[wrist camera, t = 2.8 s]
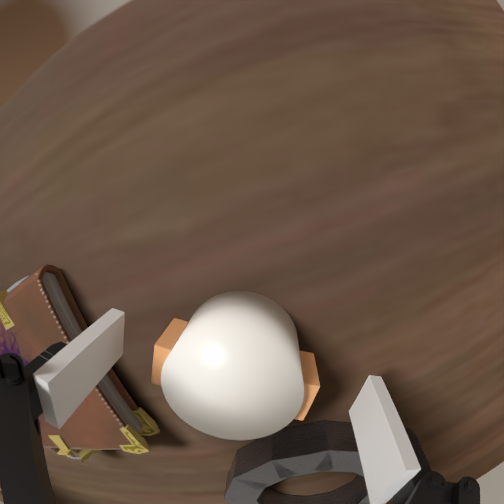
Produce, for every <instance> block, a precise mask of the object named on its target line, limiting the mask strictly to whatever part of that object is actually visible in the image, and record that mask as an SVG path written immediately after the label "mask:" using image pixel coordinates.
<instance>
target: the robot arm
mask: <svg viewBox="0 0 504 504" xmlns="http://www.w3.org/2000/svg"><path fill="white" fill-rule="evenodd" d="M124 319H125V312H122V311H119V310H117V309H114V308H112V309H111V310H109V311H108V312H107V313H106V314H104V315H103V316H102V317H101V318H99V319H98V320H97V321H96V322H94V323H93V324H92V325H91V326H90V327H88V328H87V329H86V330H85V331H83V332H82V333H81V334H80V335H79V336H77V337H76V338H75V339H74V340H72V341H71V342H70V343H69V344H68V345H67V344H65V343H63V342H58V343H55V344H52V345H51V346H50V347H48V348H47V349H46V350H45V351H43V352H42V353H41V354H40V355H38V356H37V357H36V358H35V359H33V360H32V361H31V362H30V363H28V364H27V365H26V366H25V367H24V363H23V360H22V358H21V357H20V356H18V355H17V354H13V353H4V354H2V355H0V481H1V488H2V494H3V500H4V504H56V502H55V498H54V495H53V491H52V487H51V483H50V479H49V474H48V470H47V465H46V460H45V454H44V449H43V443H42V436H41V428H40V421H39V418H38V417H39V416H40V415H41V414H42V413H43V414H44V417H45V421H46V422H48V423H50V424H51V425H53V426H54V427H56V428H58V429H60V428H61V427H62V426H63V425H64V423H65V422H66V421H67V420H68V418H69V417H70V416H71V415H72V414H73V412H74V411H75V410H76V409H77V408H78V406H79V405H80V404H81V403H82V402H83V400H84V399H85V398H86V397H87V396H88V394H89V393H90V392H91V391H92V390H93V389H94V387H95V386H96V385H97V384H98V383H99V382H100V380H101V379H102V378H103V377H104V376H105V375H106V373H107V372H108V371H109V370H110V369H111V368H112V366H113V365H114V364H115V363H116V362H117V361H118V359H119V358H120V357H121V356H122V355H123V338H124ZM349 415H350V418H351V422H352V426H353V430H354V434H355V439H356V443H357V447H358V451H359V455H360V460H361V464H362V468H363V473H364V477H365V482H366V487H367V491H368V496H369V501H370V504H386V503H387V502H388V501H389V500H390V499H391V498H392V497H393V500H394V504H480V487H479V484H478V483H477V481H476V480H475V479H474V478H472V477H463V478H462V479H461V480H460V481H459V482H458V483H452V482H446V481H445V479H444V477H443V476H442V475H441V474H439V473H437V472H434V471H431V469H430V466H429V464H428V461H427V459H426V457H425V454H424V452H423V451H422V448H421V445H420V444H419V441H418V439H417V436H416V435H415V434H414V433H413V431H412V430H411V429H410V428H404V426H403V424H402V421H401V419H400V417H399V415H398V412H397V410H396V408H395V406H394V403H393V401H392V399H391V397H390V394H389V392H388V390H387V388H386V386H385V384H384V382H383V379H382V377H380V376H373V375H369V376H368V378H367V380H366V382H365V384H364V386H363V387H362V389H361V391H360V393H359V395H358V397H357V398H356V400H355V402H354V404H353V405H352V407H351V409H350V410H349Z"/></svg>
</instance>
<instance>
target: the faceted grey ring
mask: <svg viewBox="0 0 504 504" xmlns="http://www.w3.org/2000/svg"><path fill="white" fill-rule="evenodd" d="M321 471H332V472H355V473H357V474H358V476H357V477H356V478H355V479H354V480H353V481H352V482H350V483H348V484H346V485H344V486H342V487H340V488H338V489H336V490H334V491H332V492H328V493H323V494H317V495H312V496H296V495H285V494H281V493H279V492H277V491H275V490H272V489H270V488H268V486H270V485H273V484H275V483H277V482H280V481H282V480H284V479H286V478H288V477H293V476H299V475H305V474H311V473H316V472H321ZM224 499H225V500H226V501H227V502H228V504H370V501H369V496H368V491H367V487H366V482H365V477H364V473H363V468H362V464H361V460H360V455H359V451H358V447H357V443H356V439H355V434H354V430H353V426H352V423H345V422H335V421H326V420H323V421H319V422H314V423H309V424H305V425H300V426H294V427H289V428H283V429H281V430H279V431H277V432H276V433H273V434H271V435H268V436H265V437H262V438H259V439H257V440H255V441H253V442H251V443H250V444H248V445H246V446H244V447H242V448H240V449H239V450H237V453H236V456H235V458H234V460H233V463H232V465H231V468H230V470H229V472H228V478H227V484H226V489H225V495H224Z"/></svg>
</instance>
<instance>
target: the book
mask: <svg viewBox="0 0 504 504" xmlns="http://www.w3.org/2000/svg"><path fill="white" fill-rule="evenodd" d="M27 277H28V276H27ZM27 277H25V278H23V279H21V280H20V281H18V282H16V283H15V284H14V285H13V286H11V287H10V288H9V289H7V290H4V291H1V292H0V355H2V354H4V353H13V354H17V355H18V356H20V357H21V358H22V360H23V363H24V367H25V366H26V365H27V364H28V363H30V362H31V361H32V360H33V359H35V358H36V357H37V356H38V355H40V354H41V353H42V352H43V351H45V350H46V349H47V348H48V347H50V346H51V345H52V344H55V343H58V342H63V343H65V344H67V345H68V344H69V343H70V342H71V341H72V340H74V339H75V338H76V337H77V336H79V335H80V334H81V333H82V332H83V331H85V330H86V329H87V328H88V326H87V324H86V322H85V320H84V318H83V316H82V314H81V312H80V310H79V308H78V306H77V304H76V302H75V300H74V298H73V296H72V294H71V292H70V290H69V287H68V285H67V283H66V281H65V278H64V276H63V274H62V272H61V270H60V269H59V268H57V267H55V266H52V265H48V264H47V265H45V266H43V267H41V268H40V269H39V270H37V271H36V272H35V273H33V274H32V275H31V276H29V277H28V278H27ZM26 278H27V279H26ZM38 418H39V421H40V428H41V436H42V443H43V447H48V448H60V450H59V451H58V452H57V454H58V455H67V456H68V457H71V458H72V459H80V460H82V462H84V461H85V460H86V459H87V458H89V457H90V456H91V455H92V454H94V453H96V452H98V451H100V450H116V449H122V450H123V451H126V452H131V453H137V454H140V453H144V452H148V451H150V448H149V446H148V444H147V443H146V441H145V439H144V438H143V437H142V436H141V435H145V436H151V435H154V434H157V433H160V430H159V428H158V426H157V424H156V422H155V421H154V420H153V419H152V418H151V417H150V416H149V415H148V414H147V413H146V412H145V411H144V410H143V409H142V408H141V407H137V405H136V404H135V402H134V401H133V400H132V398H131V397H130V395H129V394H128V392H127V391H126V389H125V388H124V386H123V385H122V383H121V382H120V380H119V379H118V377H117V376H116V374H115V372H114V371H113V369H112V368H111V369H110V370H109V371H108V372H107V373H106V375H105V376H104V377H103V378H102V379H101V380H100V382H99V383H98V384H97V385H96V386H95V387H94V389H93V390H92V391H91V392H90V393H89V394H88V396H87V397H86V398H85V399H84V400H83V402H82V403H81V404H80V405H79V406H78V408H77V409H76V410H75V411H74V412H73V414H72V415H71V416H70V417H69V418H68V420H67V421H66V422H65V423H64V425H63V426H62V427H61V428H60V429H58V428H56V427H54V426H53V425H51V424H50V423H48V422H46V421H45V417H44V414H43V413H42V414H41V415H40V416H39V417H38ZM72 451H74V452H76V453H78V454H79V456H80V457H75V456H74V455H73V453H72Z"/></svg>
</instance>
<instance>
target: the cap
mask: <svg viewBox="0 0 504 504" xmlns="http://www.w3.org/2000/svg"><path fill="white" fill-rule="evenodd" d="M151 383H154V384H157V385H159V386H162V390H163V394H164V396H165V398H166V400H167V402H168V404H169V405H170V407H171V408H172V410H173V411H174V412H175V413H176V414H177V415H178V416H179V417H180V418H181V419H182V420H183V421H185V422H186V423H187V424H189V425H190V426H192V427H193V428H195V429H197V430H199V431H201V432H203V433H206V434H208V435H211V436H215V437H218V438H223V439H230V440H252V439H258V438H262V437H265V436H268V435H271V434H273V433H276V432H277V431H279V430H281V429H283V428H284V427H285V426H287V425H288V424H289V423H290V422H291V421H292V420H293V419H296V420H302V421H303V420H304V418H305V416H306V414H307V412H308V410H309V408H310V406H311V404H312V402H313V400H314V398H315V396H316V394H317V392H318V390H319V388H320V382H319V377H318V372H317V367H316V363H315V358H314V353H309V352H304V351H299V344H298V336H297V331H296V328H295V325H294V323H293V321H292V319H291V317H290V316H289V314H288V313H287V312H286V311H285V310H284V309H283V308H282V307H281V306H280V305H279V304H278V303H276V302H275V301H273V300H272V299H270V298H268V297H266V296H263V295H260V294H257V293H253V292H248V291H231V292H225V293H222V294H218V295H216V296H214V297H212V298H210V299H208V300H207V301H205V302H204V303H203V304H202V305H201V306H200V307H199V308H198V309H197V310H196V311H195V313H194V315H193V316H192V318H191V319H190V321H189V323H188V322H186V321H183V320H180V319H176V318H174V319H173V320H172V322H171V323H170V324H169V326H168V327H167V329H166V330H165V331H164V333H163V334H162V335H161V337H160V338H159V339H158V341H157V342H156V344H155V347H154V357H153V367H152V379H151Z"/></svg>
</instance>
